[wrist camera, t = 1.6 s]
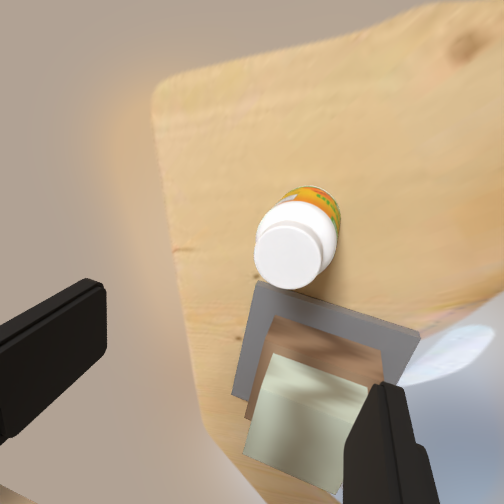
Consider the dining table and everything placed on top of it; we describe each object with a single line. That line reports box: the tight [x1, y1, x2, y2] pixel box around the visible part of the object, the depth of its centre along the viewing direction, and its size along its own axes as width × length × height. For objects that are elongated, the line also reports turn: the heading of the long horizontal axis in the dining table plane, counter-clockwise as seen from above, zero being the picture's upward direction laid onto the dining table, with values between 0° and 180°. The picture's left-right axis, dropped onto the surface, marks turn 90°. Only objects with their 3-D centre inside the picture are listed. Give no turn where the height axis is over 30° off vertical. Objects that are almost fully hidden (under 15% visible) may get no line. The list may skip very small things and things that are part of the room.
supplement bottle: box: [254, 186, 341, 289], centre depth 22 cm, size 5×5×10 cm
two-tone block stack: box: [243, 315, 384, 495], centre depth 27 cm, size 10×10×8 cm
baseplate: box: [231, 280, 421, 401], centre depth 31 cm, size 15×15×1 cm
